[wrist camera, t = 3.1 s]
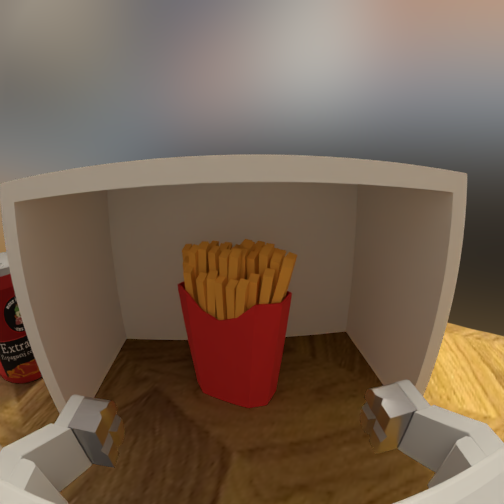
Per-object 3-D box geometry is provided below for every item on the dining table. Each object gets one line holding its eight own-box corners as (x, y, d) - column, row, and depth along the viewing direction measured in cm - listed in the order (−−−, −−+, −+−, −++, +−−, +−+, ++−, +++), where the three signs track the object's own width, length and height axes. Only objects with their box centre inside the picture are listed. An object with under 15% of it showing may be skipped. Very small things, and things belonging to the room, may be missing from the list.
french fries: (182, 385, 22) (164, 244, 19) (207, 363, 26) (198, 233, 23) (278, 418, 19) (285, 257, 16) (296, 387, 22) (305, 242, 19)
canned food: (13, 395, 17) (-30, 278, 14) (-11, 362, 20) (-41, 264, 17) (70, 362, 24) (43, 255, 21) (38, 338, 27) (16, 247, 24)
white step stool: (65, 425, 16) (-1, 183, 11) (120, 332, 30) (100, 176, 26) (416, 411, 17) (467, 173, 13) (351, 325, 32) (363, 170, 28)
